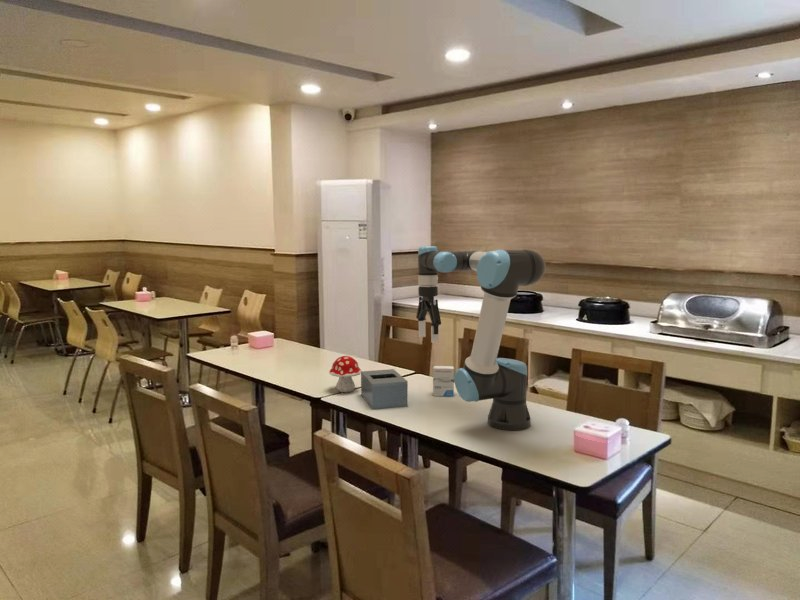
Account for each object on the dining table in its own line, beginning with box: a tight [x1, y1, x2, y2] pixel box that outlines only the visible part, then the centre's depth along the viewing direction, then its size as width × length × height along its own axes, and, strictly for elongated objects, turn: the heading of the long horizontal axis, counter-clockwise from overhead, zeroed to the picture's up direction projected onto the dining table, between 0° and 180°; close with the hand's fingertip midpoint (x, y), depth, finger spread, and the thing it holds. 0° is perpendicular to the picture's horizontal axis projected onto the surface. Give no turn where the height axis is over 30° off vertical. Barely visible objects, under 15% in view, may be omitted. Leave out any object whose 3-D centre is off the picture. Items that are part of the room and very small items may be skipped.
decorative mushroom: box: [328, 355, 362, 393], centre depth 251 cm, size 14×14×15 cm
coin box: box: [360, 368, 409, 410], centre depth 238 cm, size 20×14×10 cm
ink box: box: [432, 365, 455, 397], centre depth 246 cm, size 8×5×12 cm, turn 84°
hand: (428, 339), depth 233 cm, fingers open, 13 cm apart
